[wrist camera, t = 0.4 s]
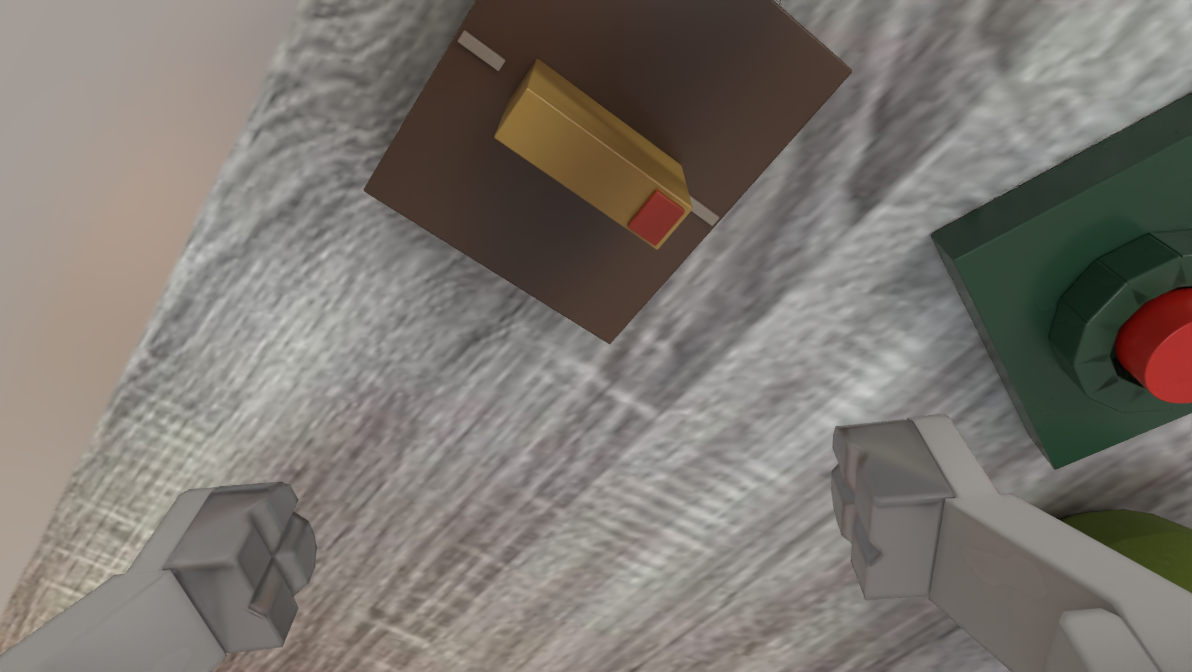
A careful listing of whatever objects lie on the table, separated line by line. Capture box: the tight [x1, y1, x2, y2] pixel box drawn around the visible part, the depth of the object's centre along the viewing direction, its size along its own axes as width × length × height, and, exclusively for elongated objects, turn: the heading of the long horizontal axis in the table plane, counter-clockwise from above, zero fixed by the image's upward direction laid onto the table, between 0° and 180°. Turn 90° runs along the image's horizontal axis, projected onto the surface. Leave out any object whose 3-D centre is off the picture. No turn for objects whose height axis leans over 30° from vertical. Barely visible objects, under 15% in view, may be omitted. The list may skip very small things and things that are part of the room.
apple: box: [1060, 510, 1192, 593], centre depth 32 cm, size 11×10×10 cm
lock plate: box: [364, 0, 852, 344], centre depth 24 cm, size 10×12×3 cm
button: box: [1115, 288, 1192, 403], centre depth 25 cm, size 4×4×2 cm
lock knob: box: [494, 59, 693, 249], centre depth 21 cm, size 6×2×4 cm, turn 54°
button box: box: [931, 93, 1192, 469], centre depth 27 cm, size 12×10×4 cm
